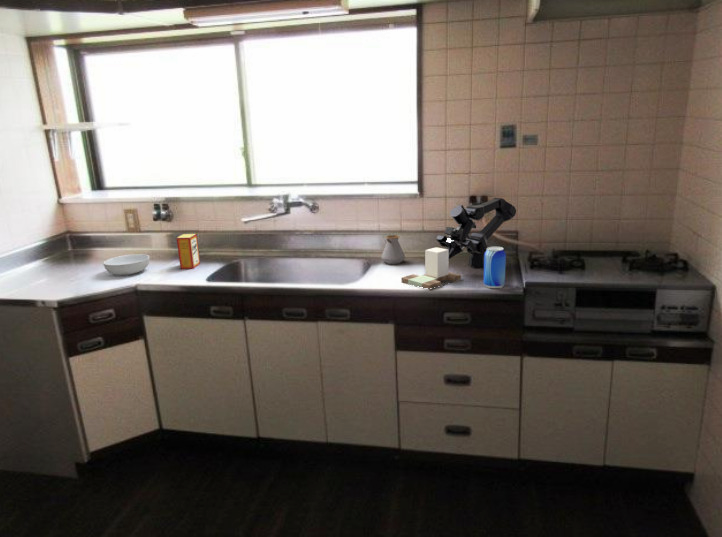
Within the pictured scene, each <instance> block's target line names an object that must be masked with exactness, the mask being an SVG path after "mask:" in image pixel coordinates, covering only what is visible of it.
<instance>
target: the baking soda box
mask: <svg viewBox="0 0 722 537" xmlns="http://www.w3.org/2000/svg"><path fill="white" fill-rule="evenodd" d="M176 244H177V251H178V260H179V265H180V266H179V267H180V270H194V269H195V268H197V267H198V266H199V265H200V264H201V260H200V252H199V243H198V236H197V233H183V234H180V235H179V236H177V237H176Z"/></svg>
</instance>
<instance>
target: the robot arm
mask: <svg viewBox="0 0 722 537" xmlns="http://www.w3.org/2000/svg"><path fill="white" fill-rule="evenodd" d="M492 211H495V215H494V216H493V217H492V219H491V220H490V221H489V222H488V223H487V224H486V225H485V226H484V227H483V228H482V229H481V230H480V231H479V232H472V233H471V234H470V232H471V231H472V229H477V224H476V222H475V221H480V220H481V219H483V218H484V217H485V215H486V214H488V213H489V212H492ZM516 214H517V209H516V207H515V206H514V205H512V203H510V202H508V201H506V200H505V199H504V198H502V197H494V198H492V199H490V200H488V201H485V202H483V203H481V204H478V205H477V204H476V205H468V206H466V207H464V205H463V204H458V205H457V206H455V207H453V208H452V209H451V210H450V213H449V215H450V216H451V218H452V219H453V220H454V222H455V223H456V224H457V227H451V226H446V227H445V231H444V233H443V234H445V235H443V234H439V235H437V237H436V238H435V240H436V241H437V243H438V244H439V245H440V246H441V247H442V248H443V247H444V248H446V249H448V250H449V260H450V259H452V258H453V257H454V256H456V255H458V254H460V253H462V252H464V250H463V249H465V248H466V251H467V253H469V258H468V263H467V265H468V266H470V267H471V268H473V269H480V268H484V253H485V252H486V250H487V248H488V247H489V246H487V245H488V240H489V239H490V238H491V236H492V235H493V234H495V232H496V231H497V230H498V229H499V228H500V226H501V225H503V224H504V223H505V222H507V221H510V220H512V219H513V218H514V217H516ZM474 220H475V221H474ZM446 235H448V237H447V236H446Z"/></svg>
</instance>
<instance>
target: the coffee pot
mask: <svg viewBox="0 0 722 537" xmlns="http://www.w3.org/2000/svg"><path fill="white" fill-rule="evenodd" d="M399 238H400V235H395V234H392V235H391V234H390V235H386V236H385V240H384V241H385V242H386V241H387V242H386V244H385V247H384V249H383V252H382V254H381V260H382V261H383V262H384V263H385V264H388V265H399V264H401V263H402V262H403V261H404V260H405V258H406V255H405V253H404V250H403V248H402V246H401V244H400V242H399ZM400 262H401V263H400ZM398 263H399V264H398Z"/></svg>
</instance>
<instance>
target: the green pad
mask: <svg viewBox="0 0 722 537" xmlns="http://www.w3.org/2000/svg"><path fill="white" fill-rule="evenodd" d="M424 275H425V274H422V276H421V275H418V277H415V278H412V279H408V284H407V285H411V286H413V285H414V286H415V287H417V286H419V287H418V288H420V287H422V283H425V282H428V281H431V280H436V281H437V279H436V278H432V277H428V276H424Z"/></svg>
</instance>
